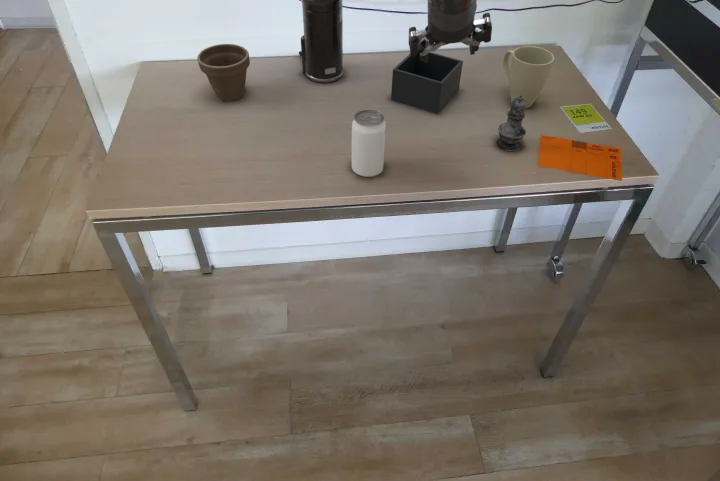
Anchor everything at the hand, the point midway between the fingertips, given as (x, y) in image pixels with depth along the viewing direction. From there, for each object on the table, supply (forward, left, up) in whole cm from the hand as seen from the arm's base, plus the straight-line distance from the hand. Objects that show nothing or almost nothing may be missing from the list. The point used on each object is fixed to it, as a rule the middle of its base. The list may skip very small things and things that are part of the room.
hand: (448, 54), depth 105 cm
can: (-9, -14, -21) cm, 27 cm away
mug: (+9, +27, -21) cm, 36 cm away
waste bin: (-11, +18, -21) cm, 30 cm away
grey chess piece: (+13, +9, -21) cm, 27 cm away
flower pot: (-51, -6, -21) cm, 56 cm away
